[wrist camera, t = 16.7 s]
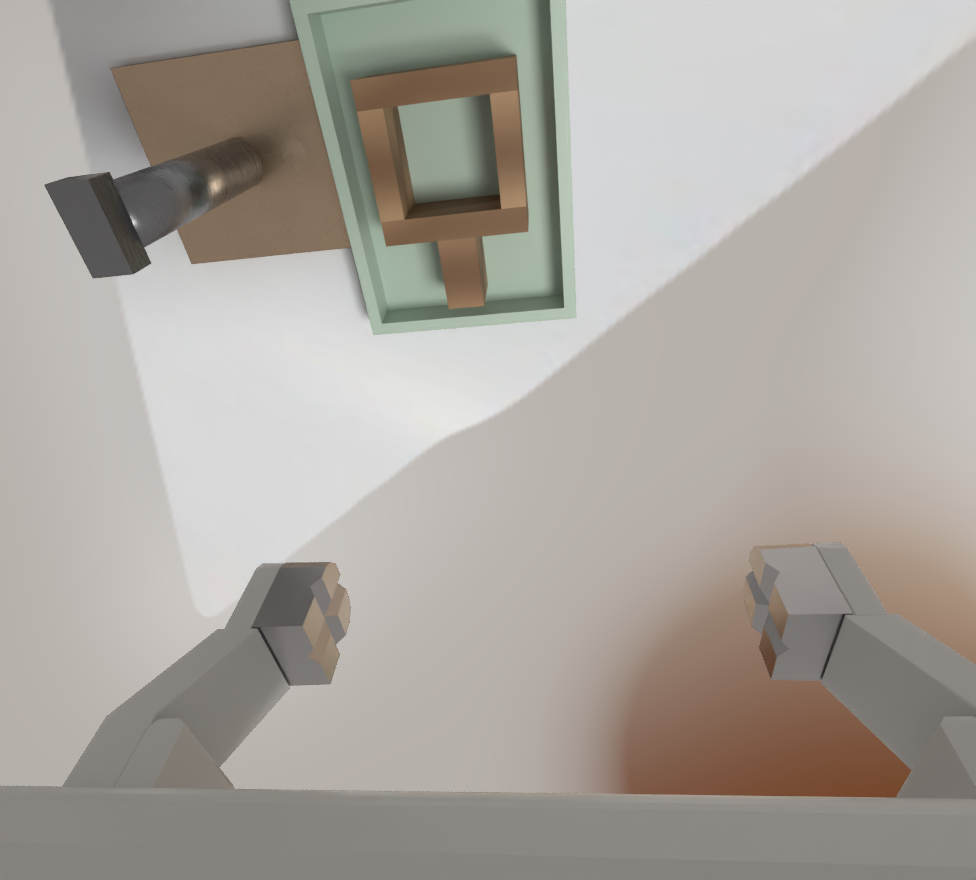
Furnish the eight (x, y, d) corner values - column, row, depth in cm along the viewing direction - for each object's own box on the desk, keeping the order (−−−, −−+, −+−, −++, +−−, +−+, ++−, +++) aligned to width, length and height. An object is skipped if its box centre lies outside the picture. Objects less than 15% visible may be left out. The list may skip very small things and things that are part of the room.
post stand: (120, 67, 36) (-130, 89, 22) (304, 39, 34) (156, 45, 21) (198, 259, 43) (43, 364, 29) (354, 243, 41) (267, 345, 28)
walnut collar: (367, 75, 35) (350, 80, 31) (516, 54, 34) (514, 57, 30) (411, 291, 42) (400, 313, 39) (533, 280, 41) (533, 301, 38)
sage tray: (306, 0, 33) (288, -3, 31) (561, -41, 31) (563, -47, 29) (382, 318, 44) (373, 335, 42) (574, 301, 43) (576, 317, 40)
